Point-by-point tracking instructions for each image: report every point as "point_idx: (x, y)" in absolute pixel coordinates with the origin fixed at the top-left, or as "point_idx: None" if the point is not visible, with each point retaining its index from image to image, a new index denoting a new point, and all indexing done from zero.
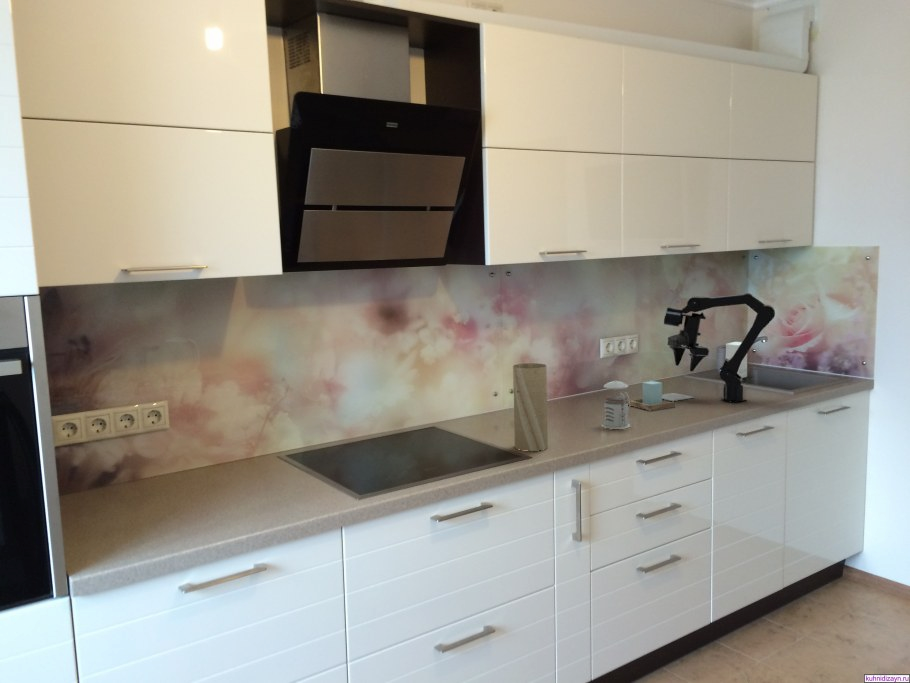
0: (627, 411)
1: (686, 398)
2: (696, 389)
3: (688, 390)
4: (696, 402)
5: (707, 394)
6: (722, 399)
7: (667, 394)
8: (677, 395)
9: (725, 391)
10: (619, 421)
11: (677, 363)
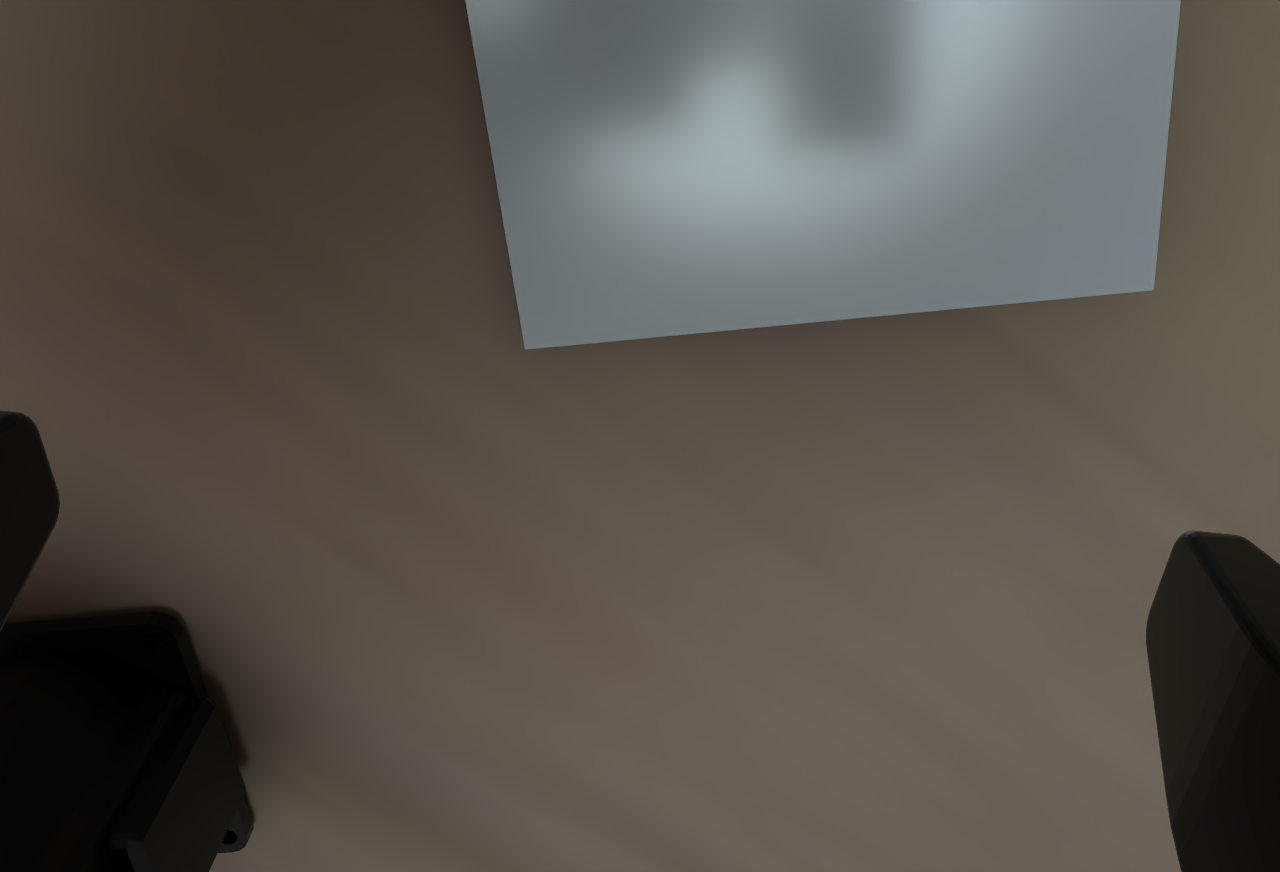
0: None
1: (487, 123)
2: None
3: None
4: (166, 127)
5: (741, 747)
6: (125, 623)
7: (1107, 29)
8: (866, 160)
9: (83, 779)
10: None
11: (1191, 646)
